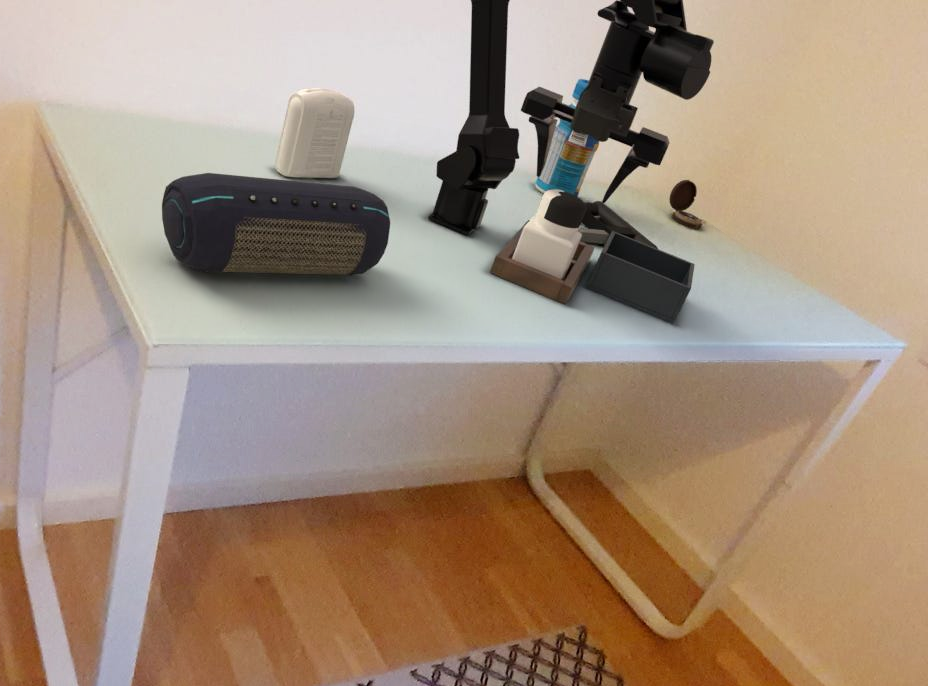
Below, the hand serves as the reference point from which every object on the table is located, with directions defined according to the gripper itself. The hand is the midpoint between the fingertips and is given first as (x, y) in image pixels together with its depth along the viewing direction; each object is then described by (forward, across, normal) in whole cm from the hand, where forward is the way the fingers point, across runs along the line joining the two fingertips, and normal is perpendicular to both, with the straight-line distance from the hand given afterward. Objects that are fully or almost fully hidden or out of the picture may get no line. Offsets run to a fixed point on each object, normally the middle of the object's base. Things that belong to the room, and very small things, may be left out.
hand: (570, 189), depth 112 cm
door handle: (+13, +4, +29) cm, 32 cm away
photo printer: (+13, -37, +3) cm, 39 cm away
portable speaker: (+13, -25, -30) cm, 41 cm away
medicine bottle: (+13, 0, 0) cm, 13 cm away
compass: (+13, +20, +62) cm, 67 cm away
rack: (+13, 0, +5) cm, 14 cm away
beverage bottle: (+13, -6, +45) cm, 47 cm away
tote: (+13, +14, +10) cm, 21 cm away
